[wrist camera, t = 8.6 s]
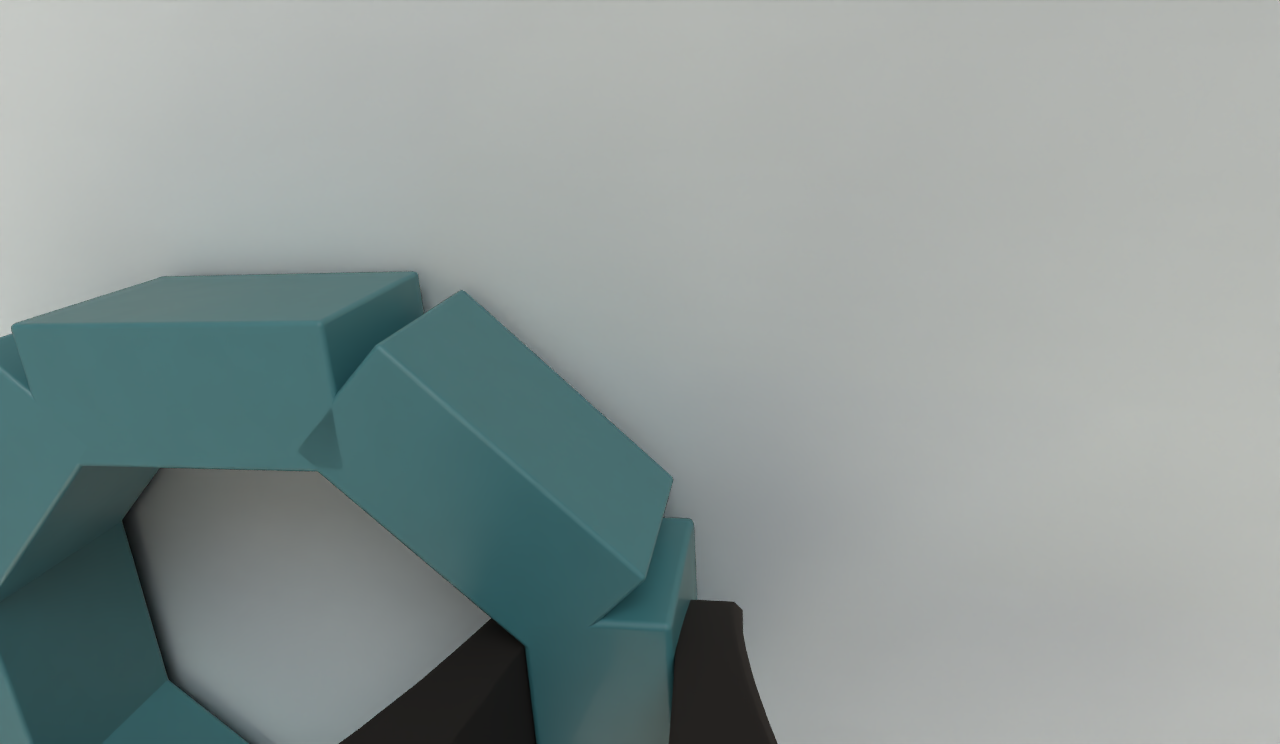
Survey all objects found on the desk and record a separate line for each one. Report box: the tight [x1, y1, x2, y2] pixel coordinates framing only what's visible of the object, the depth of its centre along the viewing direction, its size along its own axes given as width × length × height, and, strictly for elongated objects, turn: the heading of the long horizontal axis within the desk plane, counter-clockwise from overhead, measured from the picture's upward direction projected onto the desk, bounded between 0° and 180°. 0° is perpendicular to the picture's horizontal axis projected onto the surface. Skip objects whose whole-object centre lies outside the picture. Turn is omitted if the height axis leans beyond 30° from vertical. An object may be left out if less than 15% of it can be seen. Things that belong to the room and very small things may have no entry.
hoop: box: [0, 271, 697, 744], centre depth 11 cm, size 10×10×2 cm
